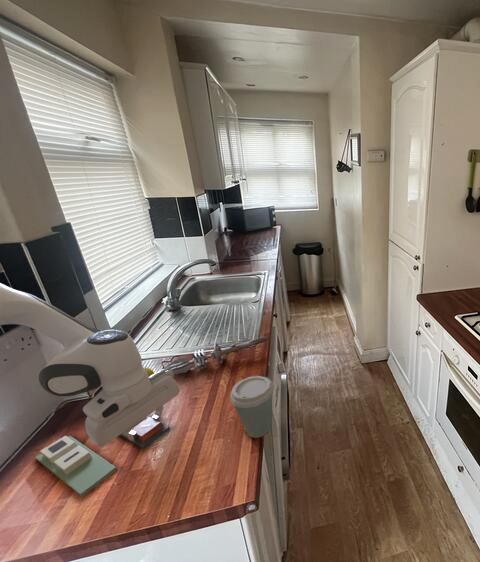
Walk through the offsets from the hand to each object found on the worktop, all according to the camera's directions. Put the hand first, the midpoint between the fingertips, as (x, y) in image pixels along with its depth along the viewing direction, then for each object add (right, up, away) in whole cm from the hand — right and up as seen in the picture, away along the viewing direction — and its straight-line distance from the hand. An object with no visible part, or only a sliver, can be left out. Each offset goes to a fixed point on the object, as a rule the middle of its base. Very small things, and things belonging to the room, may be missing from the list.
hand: (146, 429), depth 83 cm
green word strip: (-12, -5, -7) cm, 15 cm away
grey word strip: (-6, -1, +3) cm, 7 cm away
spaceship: (+6, +10, +29) cm, 31 cm away
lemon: (-12, +5, +18) cm, 22 cm away
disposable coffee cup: (+30, -1, +1) cm, 30 cm away
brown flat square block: (0, -1, 0) cm, 1 cm away
